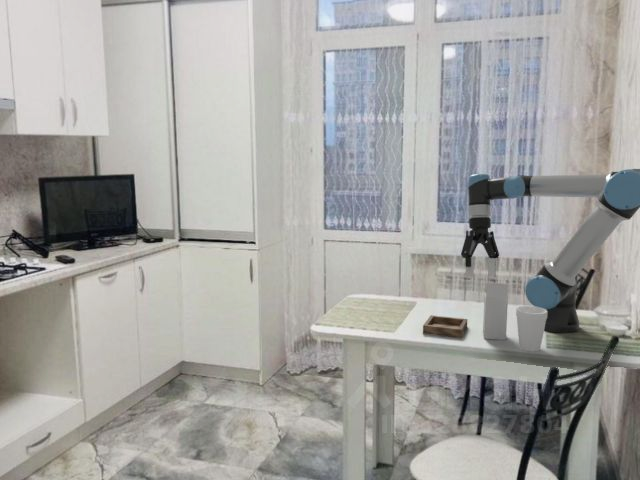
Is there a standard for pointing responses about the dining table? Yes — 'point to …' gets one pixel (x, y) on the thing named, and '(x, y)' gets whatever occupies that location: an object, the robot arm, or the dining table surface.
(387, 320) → the dining table surface
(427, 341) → the dining table surface
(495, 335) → the milk carton
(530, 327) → the foam cup
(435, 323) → the tray
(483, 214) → the robot arm
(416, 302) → the dining table surface
